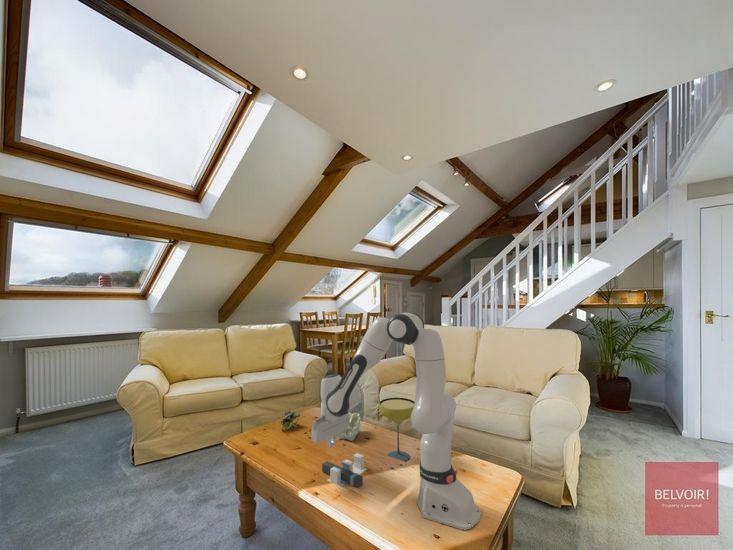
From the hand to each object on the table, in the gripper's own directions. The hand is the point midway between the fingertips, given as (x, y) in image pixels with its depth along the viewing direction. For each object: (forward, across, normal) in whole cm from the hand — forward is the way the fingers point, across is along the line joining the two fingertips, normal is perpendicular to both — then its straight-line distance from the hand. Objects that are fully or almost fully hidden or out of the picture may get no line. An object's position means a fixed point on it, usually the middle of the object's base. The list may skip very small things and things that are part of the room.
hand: (331, 446), depth 141 cm
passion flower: (+13, +23, +56) cm, 62 cm away
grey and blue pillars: (+13, +4, -6) cm, 15 cm away
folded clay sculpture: (+13, +35, +20) cm, 43 cm away
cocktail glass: (+13, +32, -13) cm, 37 cm away
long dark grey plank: (+11, 0, -6) cm, 13 cm away
